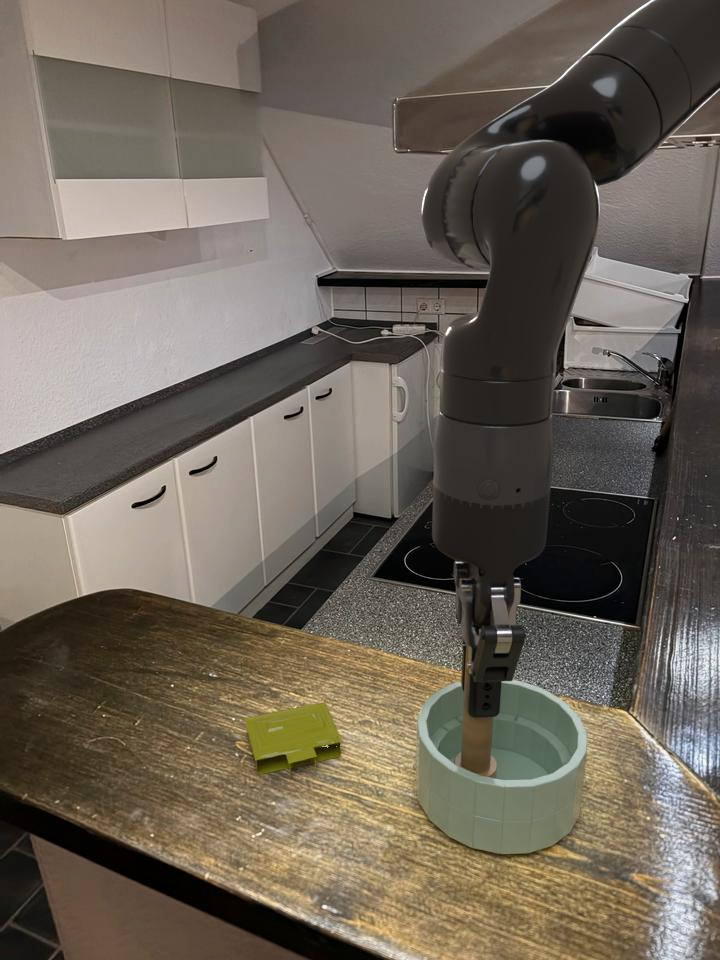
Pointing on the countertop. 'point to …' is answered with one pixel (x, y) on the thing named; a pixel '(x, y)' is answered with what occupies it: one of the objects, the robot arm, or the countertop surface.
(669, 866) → the countertop surface
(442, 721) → the bowl
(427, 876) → the countertop surface
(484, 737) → the stirring stick
